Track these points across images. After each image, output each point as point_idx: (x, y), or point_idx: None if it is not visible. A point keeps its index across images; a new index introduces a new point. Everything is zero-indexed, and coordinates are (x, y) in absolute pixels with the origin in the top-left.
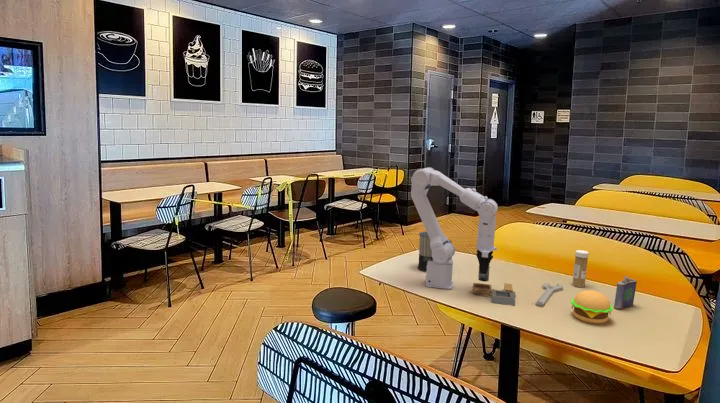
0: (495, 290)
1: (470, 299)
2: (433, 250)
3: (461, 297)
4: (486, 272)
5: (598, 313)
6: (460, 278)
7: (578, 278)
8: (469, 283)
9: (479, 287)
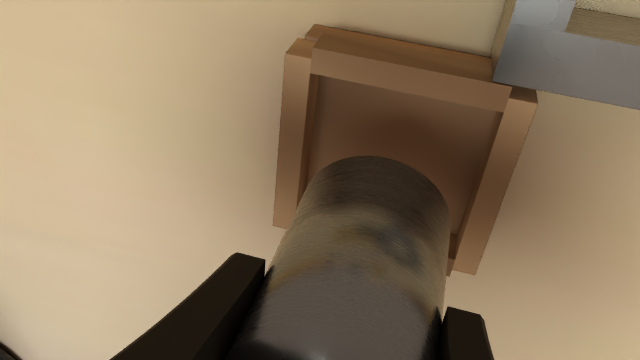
0: (535, 34)
1: (624, 283)
2: None
3: (563, 336)
4: (487, 341)
5: None
6: (57, 230)
7: None
8: (155, 189)
9: (319, 159)
